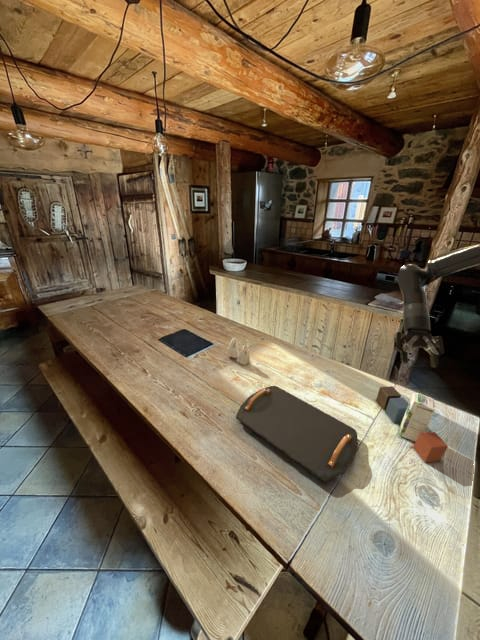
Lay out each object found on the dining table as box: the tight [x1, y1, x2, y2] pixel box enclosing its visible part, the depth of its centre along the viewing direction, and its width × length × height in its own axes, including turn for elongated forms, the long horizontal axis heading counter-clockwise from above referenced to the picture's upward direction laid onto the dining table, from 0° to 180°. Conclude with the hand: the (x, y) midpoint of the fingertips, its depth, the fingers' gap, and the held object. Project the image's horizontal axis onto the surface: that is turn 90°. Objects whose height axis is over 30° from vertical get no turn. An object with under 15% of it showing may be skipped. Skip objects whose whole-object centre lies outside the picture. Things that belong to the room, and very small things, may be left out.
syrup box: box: [399, 392, 436, 443], centre depth 85 cm, size 6×6×14 cm
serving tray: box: [235, 385, 359, 483], centre depth 87 cm, size 39×23×6 cm, turn 48°
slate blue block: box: [384, 397, 410, 424], centre depth 93 cm, size 5×5×6 cm
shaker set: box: [225, 337, 251, 365], centre depth 122 cm, size 12×4×11 cm, turn 52°
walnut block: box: [375, 385, 402, 411], centre depth 98 cm, size 5×5×6 cm
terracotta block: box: [413, 431, 449, 463], centre depth 80 cm, size 5×5×6 cm
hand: (419, 365), depth 86 cm, fingers open, 8 cm apart
